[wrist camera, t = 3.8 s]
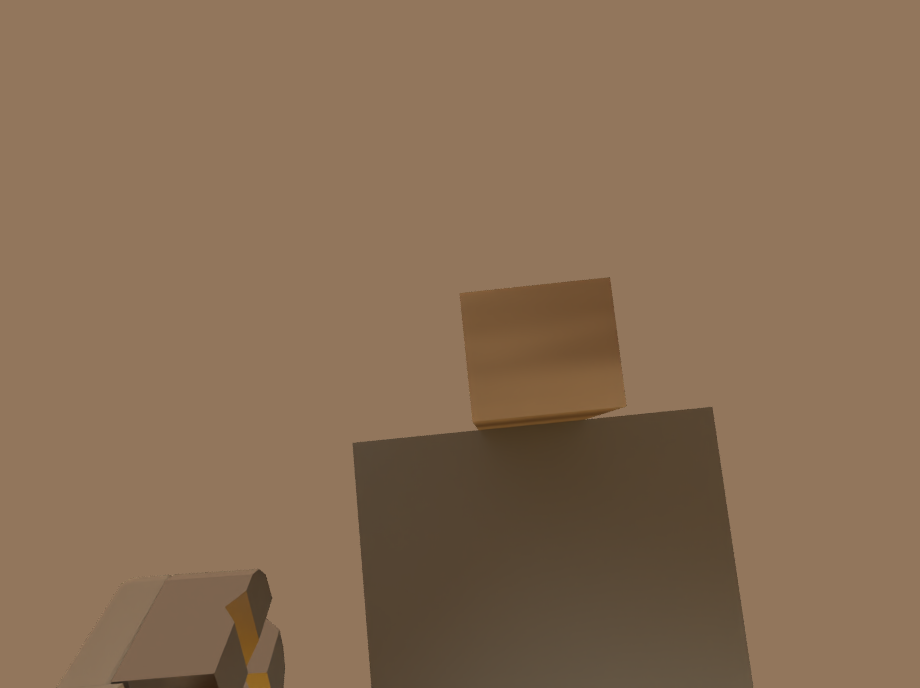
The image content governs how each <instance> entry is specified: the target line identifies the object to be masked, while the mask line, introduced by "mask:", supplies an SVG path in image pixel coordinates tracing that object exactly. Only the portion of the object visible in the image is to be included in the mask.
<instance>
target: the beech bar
mask: <svg viewBox="0 0 920 688" xmlns="http://www.w3.org/2000/svg"><path fill="white" fill-rule="evenodd" d="M460 301H461V311H462V321H463V331H464V341H465V351H466V361H467V371H468V381H469V391H470V401H471V410H472V420H473V423H474V424H475V426H476V427H477V429H478V430H487V429H497V428H507V427H517V426H527V425H537V424H547V423H557V422H567V421H577V420H585V419H588V418H591V417H594V416H597V415H601V414H604V413H607V412H610V411H613V410H616V409H620V408H623V407H626V406H627V405H626V398H625V390H624V382H623V375H622V367H621V359H620V352H619V344H618V336H617V329H616V321H615V313H614V306H613V298H612V290H611V282H610V277H609V278H599V279H589V280H580V281H570V282H561V283H551V284H542V285H532V286H523V287H513V288H504V289H494V290H485V291H476V292H466V293H460Z"/></svg>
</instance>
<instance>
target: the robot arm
mask: <svg viewBox="0 0 920 688" xmlns="http://www.w3.org/2000/svg"><path fill="white" fill-rule="evenodd" d="M271 600H272V596H271V593H270V589H269V585H268V581H267V578H266V575H265V574H264V573H263V572H262V571H261V570H259V569H252V570H237V571H221V572H205V573H189V574H175V575H173V576H171V575H163V576H151V577H138V578H131V579H129V580H127V581H125V582H124V583H122V584H121V585H120V586H119V588H118V589H117V591H116V592H115V594H114V596H113V597H112V599H111V600H110V602H109V604H108V605H107V607H106V608H105V610H104V612H103V613H102V615H101V617H100V618H99V620H98V621H97V623H96V625H95V626H94V628H93V629H92V631H91V632H90V634H89V636H88V637H87V639H86V640H85V642H84V643H83V645H82V647H81V648H80V650H79V651H78V653H77V655H76V656H75V658H74V660H73V661H72V663H71V664H70V666H69V667H68V669H67V671H66V672H65V674H64V675H63V677H62V679H61V680H60V682H59V683H58V685H57V687H56V688H283V685H284V673H285V663H284V651H283V644H282V639H281V635H280V630H279V629H278V628H277V627H276V626H275V625H273V624H272V623H271V622H270V621H269V620H268V619H266V616H267V613H268V610H269V607H270V603H271Z"/></svg>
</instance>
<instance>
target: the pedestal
mask: <svg viewBox="0 0 920 688" xmlns="http://www.w3.org/2000/svg"><path fill="white" fill-rule="evenodd" d="M353 454H354V467H355V479H356V493H357V505H358V519H359V532H360V545H361V557H362V570H363V582H364V583H363V584H364V596H365V609H366V623H367V636H368V649H369V661H370V674H371V687H372V688H753V682H752V675H751V668H750V661H749V654H748V648H747V641H746V634H745V627H744V620H743V614H742V607H741V600H740V593H739V586H738V579H737V573H736V566H735V559H734V552H733V545H732V539H731V532H730V525H729V518H728V511H727V504H726V497H725V490H724V484H723V477H722V470H721V463H720V456H719V449H718V443H717V436H716V429H715V422H714V415H713V408H712V407H707V408H697V409H687V410H677V411H667V412H657V413H647V414H638V415H627V416H617V417H607V418H597V419H587V420H577V421H567V422H557V423H547V424H537V425H527V426H517V427H507V428H497V429H487V430H478V431H467V432H458V433H447V434H437V435H429V436H428V435H427V436H417V437H408V438H397V439H387V440H378V441H367V442H357V443H353Z"/></svg>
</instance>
